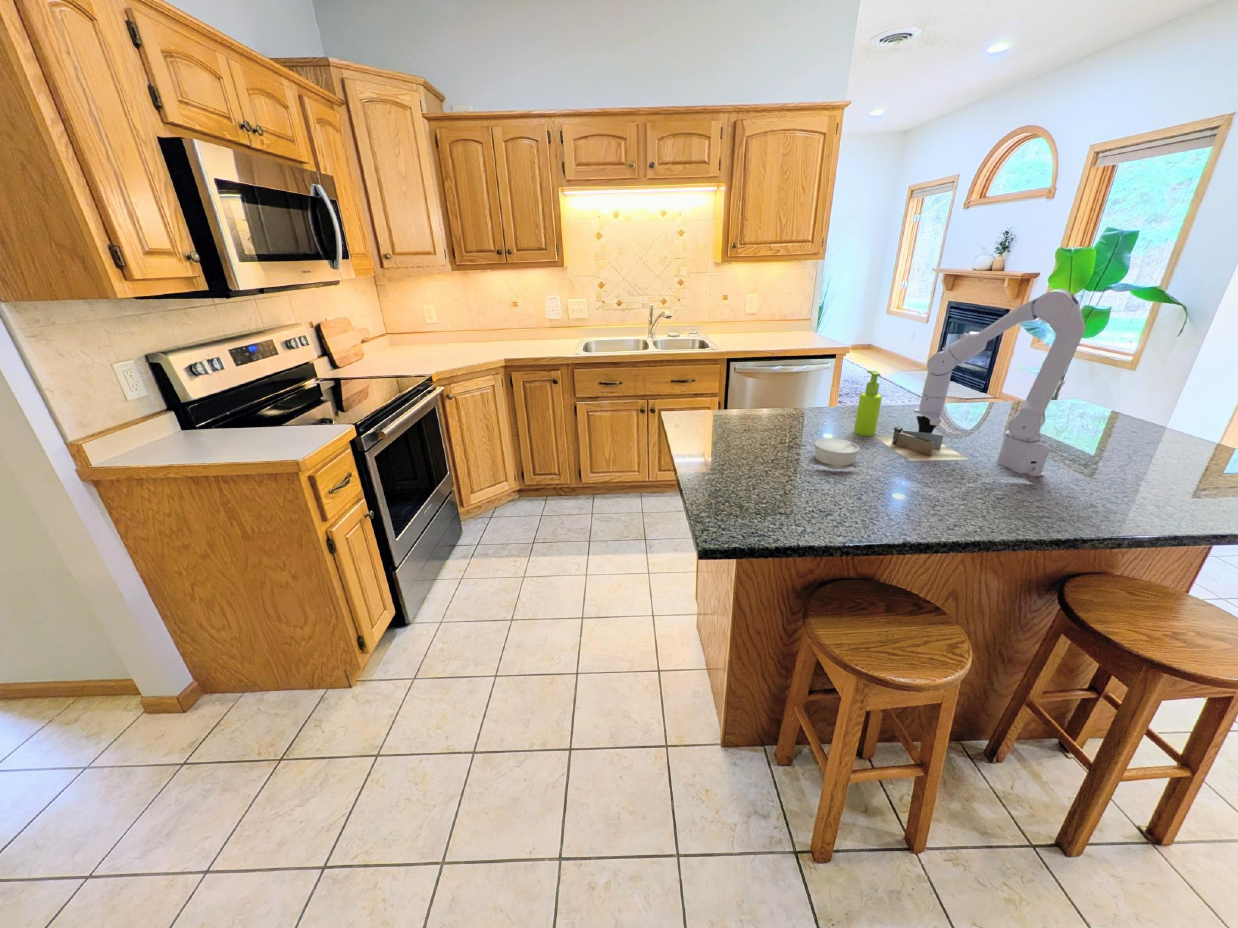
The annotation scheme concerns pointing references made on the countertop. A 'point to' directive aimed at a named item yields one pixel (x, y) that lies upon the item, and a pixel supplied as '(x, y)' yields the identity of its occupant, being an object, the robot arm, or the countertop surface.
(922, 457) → the maple board
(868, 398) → the soap dispenser
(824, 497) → the countertop surface
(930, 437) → the slate bar
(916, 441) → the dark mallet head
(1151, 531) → the countertop surface
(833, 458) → the ramekin
